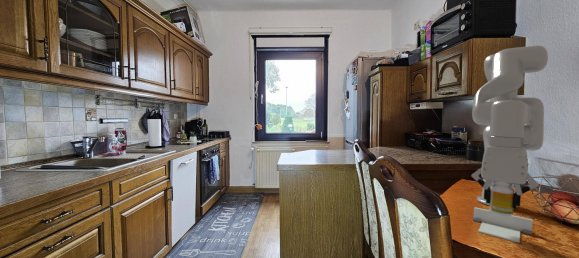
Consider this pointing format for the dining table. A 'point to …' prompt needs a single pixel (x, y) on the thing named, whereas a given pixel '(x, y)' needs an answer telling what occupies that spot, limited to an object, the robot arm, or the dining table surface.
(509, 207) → the supplement bottle
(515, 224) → the low wall
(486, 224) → the mat
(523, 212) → the dining table surface
